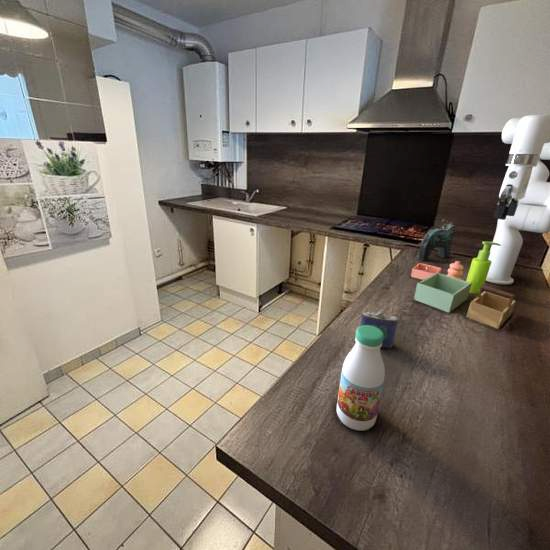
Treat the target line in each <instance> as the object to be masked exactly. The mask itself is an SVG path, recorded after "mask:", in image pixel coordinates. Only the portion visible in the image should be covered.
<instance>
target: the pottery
mask: <svg viewBox="0 0 550 550" xmlns="http://www.w3.org/2000/svg"><path fill="white" fill-rule="evenodd" d="M463 270H464V265H463V264H461V261H459V260H455V262H452V263H450V264H449V268H448V269H447V274H446V275H447V276H450V277H454V278H457V279H460V280H463V279H462V275H463V273H464V272H463ZM436 273H440V274H442V267H439V266H435V265H430V264H427V263H422V262H419V263H417V264H416V265H415V266H414V267H412V269H411V274H410V277H412V278H414V279H419V280H421V281H422V280H424V279H426V278H428V277H430V276H432V275H434V274H436Z"/></svg>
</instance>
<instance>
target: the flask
mask: <svg viewBox="0 0 550 550" xmlns="http://www.w3.org/2000/svg"><path fill="white" fill-rule="evenodd" d="M384 312H385V310H384V309H380V310H378V312H376V313H375V312H371V311H364V312H362V313H361V318H360V324H359V325H360V326H363V325H370V326H374V327H377V328H378V329H380V330H381V331H382V332H383V335H384V337H383V342H382V346H381V347H380V349H392V348H393V346H394V341H395V337H396V331H397V326H398V324H399V323H398V322H399V318H398V317H396V316H394V315H385V313H384ZM360 326H359V327H360Z"/></svg>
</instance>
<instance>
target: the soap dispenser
mask: <svg viewBox="0 0 550 550" xmlns="http://www.w3.org/2000/svg"><path fill="white" fill-rule="evenodd" d="M481 244H482V245H483V248H481V249H479V251H478V254H477V257H473V258H472V259H471V264H470V267H469V269H468V272H467V276H466V280H465V281H467V282H471V283H472V285H471V288H470V291H469V294H473V295H478V294H479V291H480V288H481V286H483V285H484V286H485V283H486V282H487V281H486V278H487V275H488V272H489V269H490V266H491V263H492V261H490V260H488V259H489V255H490V247H491V246H492V245H498V246H500V244H498V243H495V242H493V241H482V243H481Z"/></svg>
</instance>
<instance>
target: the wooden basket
mask: <svg viewBox="0 0 550 550" xmlns="http://www.w3.org/2000/svg"><path fill="white" fill-rule="evenodd" d="M483 290H484V291H483ZM515 297H516V295H515V294H514V293H511V292H507V291H504V290H501V289H497V288H494V287H490V286H487V285H485V284H484V285H483V286H481V288H480V291H479V294H477V296H476V297H475V298H474V299H473V300H471V301H470V303H469V307H468V310H467V312H466V316H465V317H466V318H468V319H470V320H474V321H476V322H479V323H481V324H483V325H487V326H489V327H492V328H494V329H498V330H499V329H500V328H501V326H502V325H504V323H505V322H506V321H507V320H508V319H509V317H511V315H512V312H513V310H514V307H515V305H516V302H517V300H515Z"/></svg>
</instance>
